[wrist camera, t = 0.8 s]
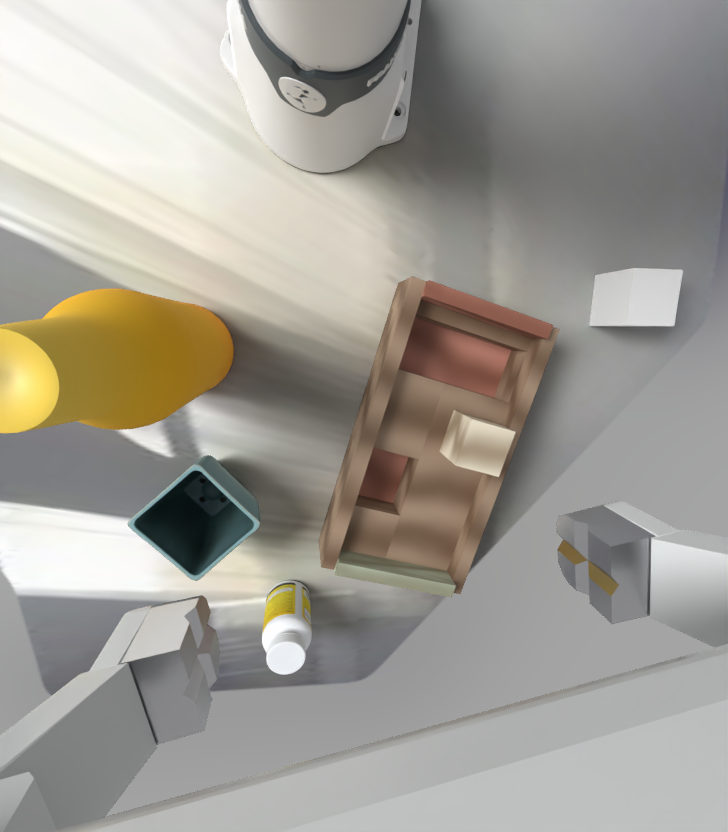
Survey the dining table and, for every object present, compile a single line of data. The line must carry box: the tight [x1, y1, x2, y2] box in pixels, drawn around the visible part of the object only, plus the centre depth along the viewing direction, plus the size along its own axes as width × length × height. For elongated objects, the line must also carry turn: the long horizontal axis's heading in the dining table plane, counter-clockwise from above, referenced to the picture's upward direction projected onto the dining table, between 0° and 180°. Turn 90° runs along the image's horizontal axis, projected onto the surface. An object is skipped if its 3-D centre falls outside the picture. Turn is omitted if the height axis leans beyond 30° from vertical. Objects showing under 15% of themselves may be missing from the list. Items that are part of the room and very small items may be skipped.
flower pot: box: [128, 455, 260, 581], centre depth 43 cm, size 9×9×9 cm
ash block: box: [439, 410, 515, 477], centre depth 44 cm, size 5×5×5 cm
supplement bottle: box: [262, 580, 312, 674], centre depth 47 cm, size 5×5×10 cm
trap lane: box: [319, 277, 560, 597], centre depth 47 cm, size 32×17×7 cm, turn 163°
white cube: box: [589, 268, 683, 327], centre depth 48 cm, size 6×6×6 cm
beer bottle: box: [0, 289, 234, 433], centre depth 30 cm, size 9×9×29 cm
